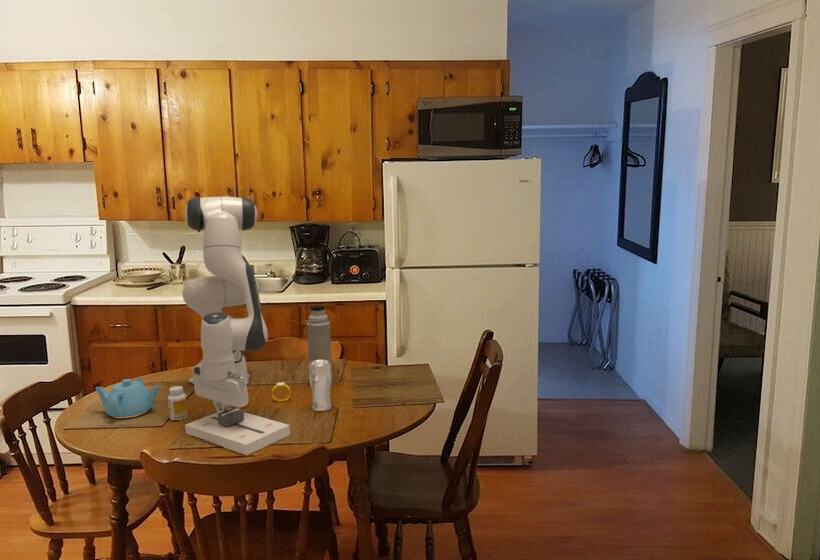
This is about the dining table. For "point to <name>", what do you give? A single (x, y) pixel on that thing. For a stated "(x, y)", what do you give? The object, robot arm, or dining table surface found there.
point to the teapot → (127, 398)
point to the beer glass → (320, 384)
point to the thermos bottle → (319, 336)
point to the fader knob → (230, 417)
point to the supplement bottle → (177, 403)
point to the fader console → (239, 432)
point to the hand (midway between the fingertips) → (222, 415)
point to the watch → (281, 386)
